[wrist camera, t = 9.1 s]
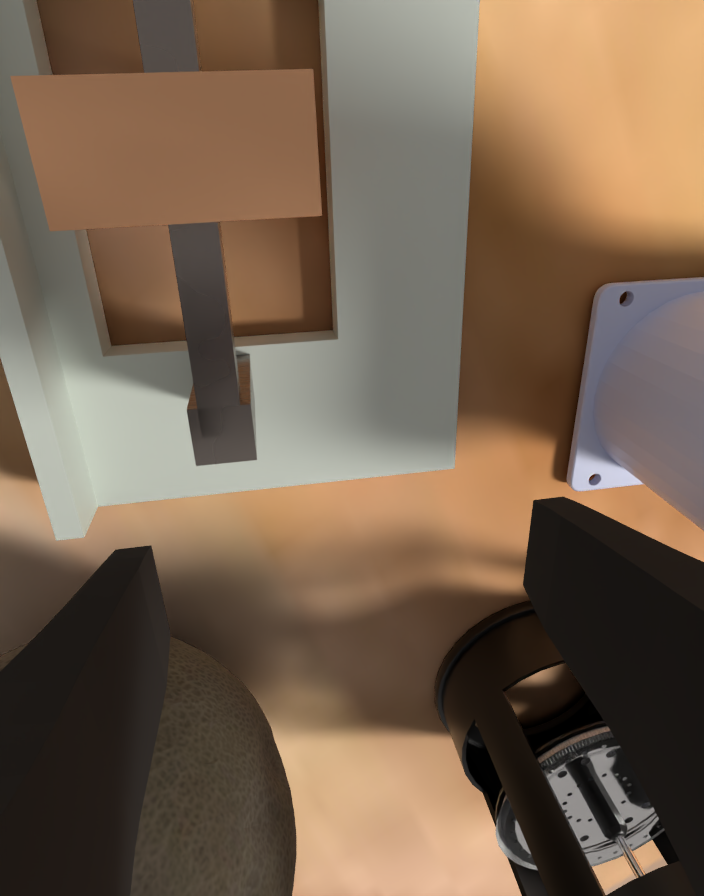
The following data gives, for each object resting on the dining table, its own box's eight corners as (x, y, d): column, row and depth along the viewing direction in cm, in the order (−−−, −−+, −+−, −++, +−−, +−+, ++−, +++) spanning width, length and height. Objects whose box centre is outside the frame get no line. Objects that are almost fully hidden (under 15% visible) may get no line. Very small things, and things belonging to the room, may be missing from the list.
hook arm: (210, -12, 15) (188, -127, 9) (254, 387, 19) (257, 474, 14) (149, -13, 14) (88, -131, 9) (208, 390, 19) (193, 481, 14)
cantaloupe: (135, 471, 20) (-88, 1075, 7) (339, 697, 26) (436, 1239, 13) (-181, 665, 21) (-909, 1506, 8) (87, 837, 27) (-63, 1463, 14)
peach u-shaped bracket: (291, 102, 15) (313, 68, 10) (299, 202, 16) (322, 215, 11) (89, 108, 14) (10, 76, 9) (111, 213, 15) (49, 231, 10)
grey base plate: (485, -486, 12) (553, -671, 9) (444, 454, 22) (472, 493, 19) (-206, -572, 10) (-363, -831, 8) (81, 491, 20) (56, 540, 17)
